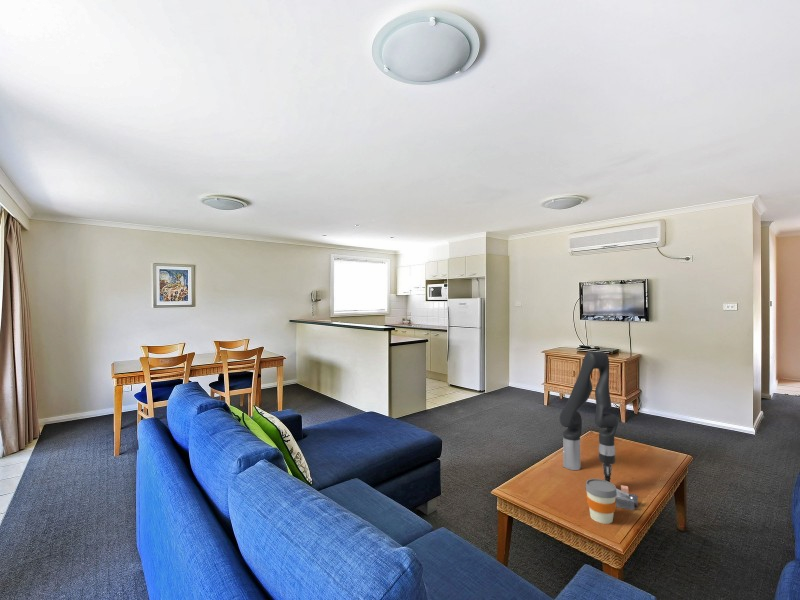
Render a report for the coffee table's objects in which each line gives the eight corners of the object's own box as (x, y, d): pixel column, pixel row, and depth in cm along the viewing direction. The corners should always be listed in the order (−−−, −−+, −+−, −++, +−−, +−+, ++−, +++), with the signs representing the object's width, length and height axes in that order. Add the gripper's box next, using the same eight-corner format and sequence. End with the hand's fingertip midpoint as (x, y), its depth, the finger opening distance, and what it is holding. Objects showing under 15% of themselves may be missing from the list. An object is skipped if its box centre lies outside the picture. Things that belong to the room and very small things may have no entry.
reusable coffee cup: (609, 529, 163) (608, 494, 163) (580, 516, 173) (580, 483, 173) (622, 519, 170) (621, 486, 170) (594, 507, 181) (593, 475, 181)
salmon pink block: (621, 497, 189) (621, 487, 189) (621, 494, 191) (620, 485, 191) (628, 499, 187) (628, 488, 187) (628, 496, 190) (627, 486, 190)
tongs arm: (601, 492, 194) (601, 483, 194) (605, 490, 196) (605, 481, 196) (634, 508, 179) (634, 498, 179) (639, 505, 181) (639, 496, 181)
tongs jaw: (598, 503, 184) (598, 495, 184) (598, 500, 187) (598, 492, 187) (634, 510, 177) (634, 501, 177) (633, 507, 180) (633, 499, 180)
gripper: (598, 446, 205) (599, 478, 205) (599, 455, 193) (599, 489, 193) (614, 448, 201) (614, 481, 201) (616, 458, 189) (616, 492, 189)
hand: (607, 485), depth 197 cm, fingers closed
